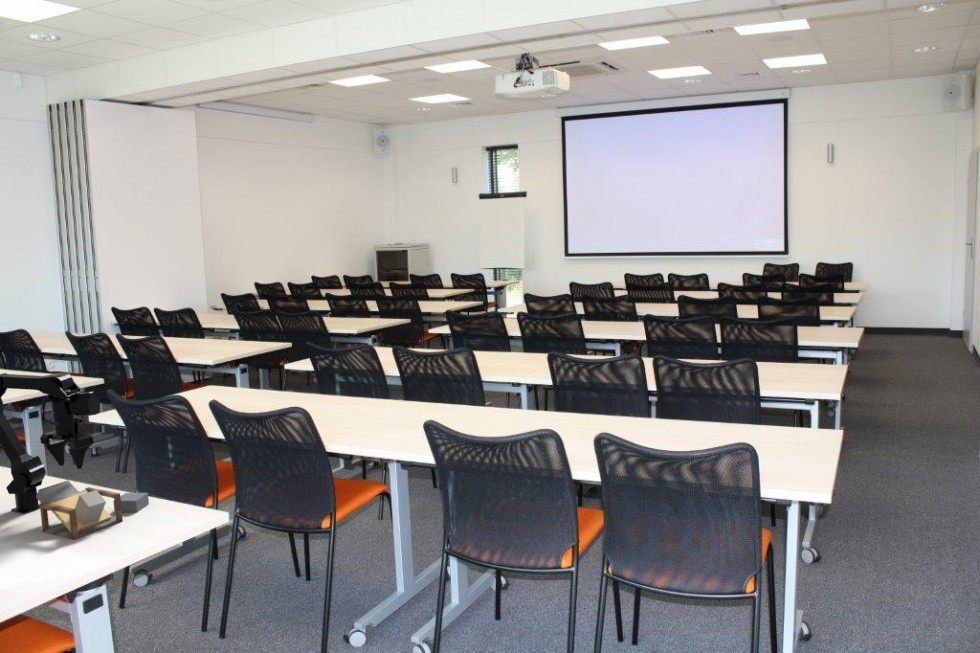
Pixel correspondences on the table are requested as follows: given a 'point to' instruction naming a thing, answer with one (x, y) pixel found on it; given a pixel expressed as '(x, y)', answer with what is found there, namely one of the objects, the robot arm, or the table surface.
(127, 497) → the plinth
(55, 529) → the frame
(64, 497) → the trapdoor
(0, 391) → the robot arm
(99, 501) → the grey upright block
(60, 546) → the table surface
